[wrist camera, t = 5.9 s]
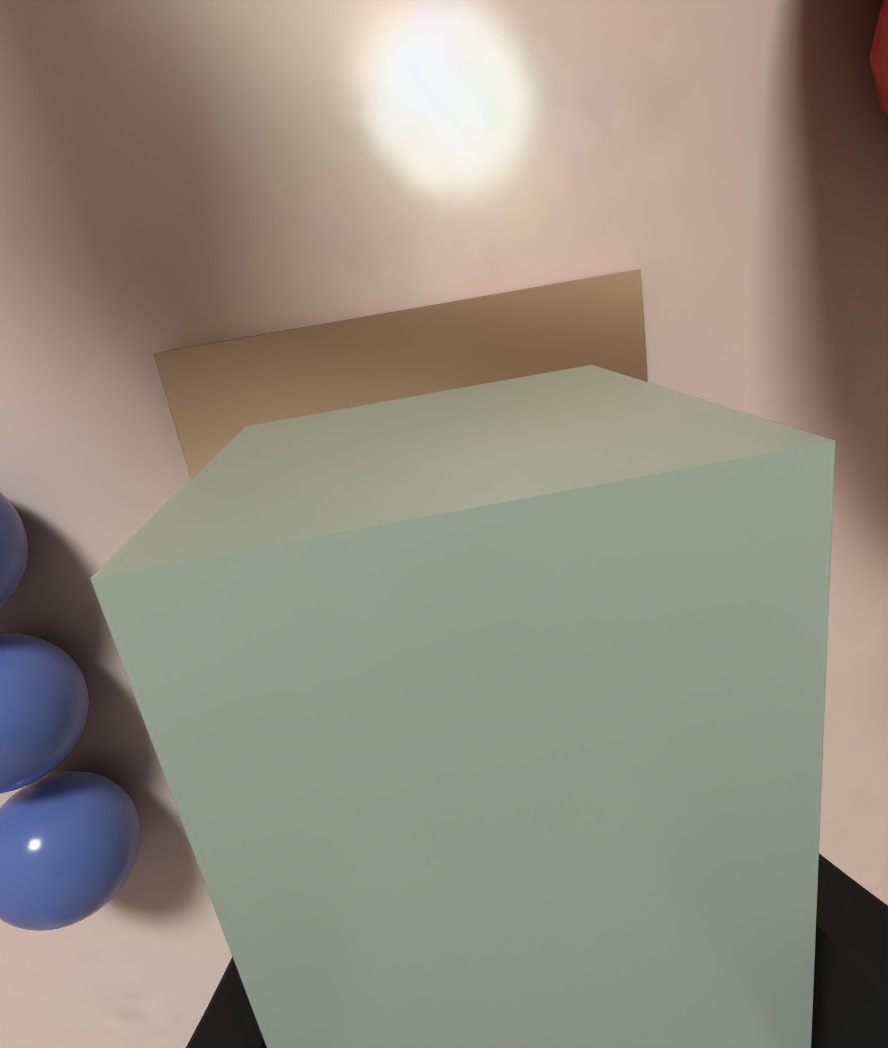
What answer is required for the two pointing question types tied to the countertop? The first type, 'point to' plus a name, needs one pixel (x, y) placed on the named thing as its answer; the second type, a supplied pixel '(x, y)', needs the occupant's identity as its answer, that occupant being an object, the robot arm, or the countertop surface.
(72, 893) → the marble
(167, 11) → the countertop surface
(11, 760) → the marble
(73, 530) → the countertop surface
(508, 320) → the cork trivet
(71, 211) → the countertop surface
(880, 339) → the countertop surface
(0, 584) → the marble
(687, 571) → the sage cover
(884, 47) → the vegetable
